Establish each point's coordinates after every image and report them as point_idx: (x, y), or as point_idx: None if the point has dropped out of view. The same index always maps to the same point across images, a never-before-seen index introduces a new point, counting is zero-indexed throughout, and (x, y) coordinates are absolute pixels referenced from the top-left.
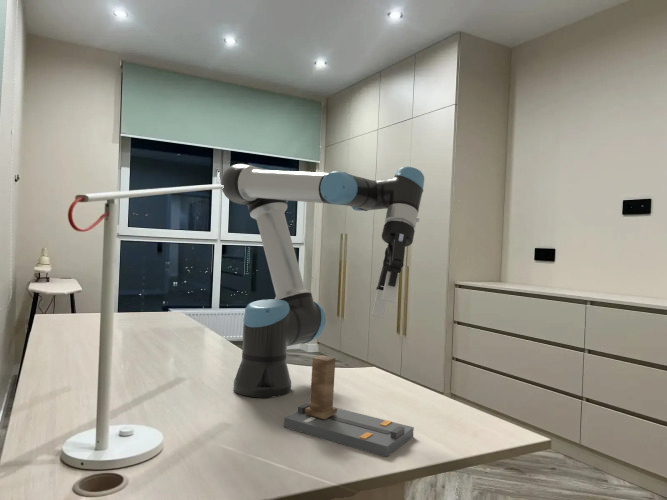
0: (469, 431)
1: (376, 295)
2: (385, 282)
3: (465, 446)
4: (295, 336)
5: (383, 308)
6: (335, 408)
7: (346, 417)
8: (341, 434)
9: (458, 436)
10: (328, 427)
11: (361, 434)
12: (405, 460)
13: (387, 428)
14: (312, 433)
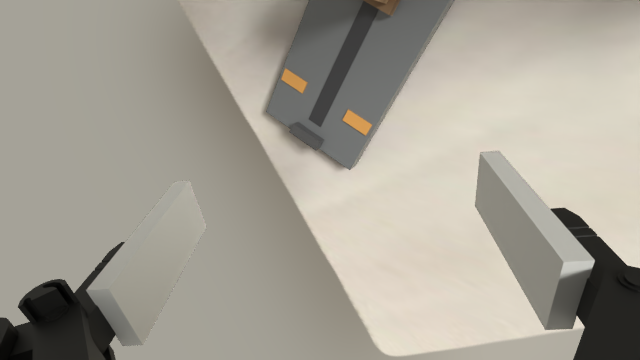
0: (400, 266)
1: (533, 225)
2: (131, 234)
3: (337, 233)
4: None
5: (493, 229)
6: (384, 11)
7: (378, 40)
8: (296, 35)
9: (375, 240)
10: (317, 6)
11: (300, 72)
12: (275, 135)
13: (334, 122)
14: None
